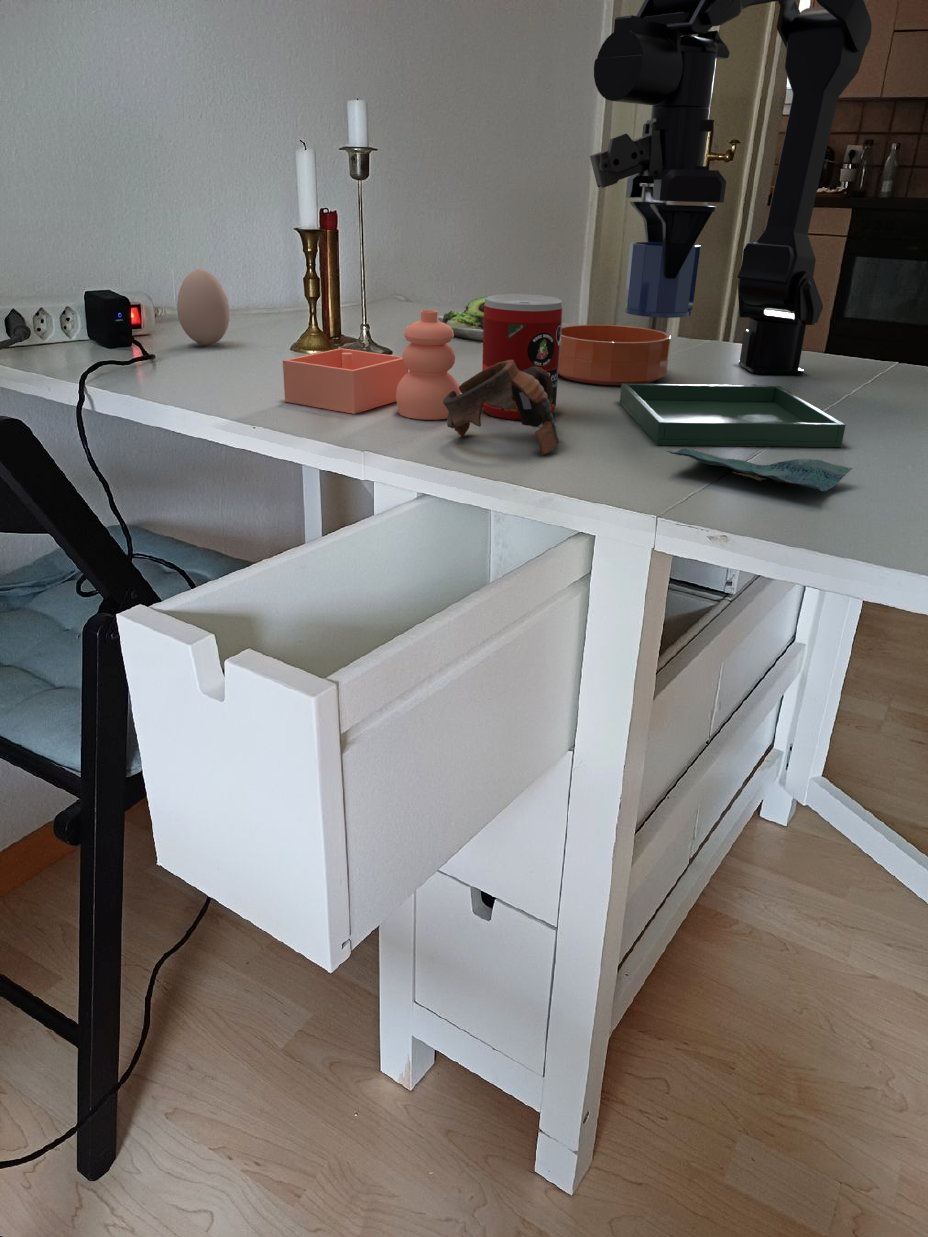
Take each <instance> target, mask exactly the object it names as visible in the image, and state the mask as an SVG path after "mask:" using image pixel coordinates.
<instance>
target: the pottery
mask: <svg viewBox="0 0 928 1237" xmlns="http://www.w3.org/2000/svg"><path fill="white" fill-rule="evenodd" d="M438 313H439V312H438V310H435V309H433V310H432V309H423V310H420V320H417V321H414V322H412V323H410V324H409V325H408V326H407V327H405V329H404V333H403V336H404V337H405V340H406V341H407V342H409V344H407V345H406V346H405V347H404V349H403V352H402V356H399V355H392V354H387V353H378V352H371V351H365V350H357V349H349V348H342V347H339V348H334V349H330V350H325V351H321V352H315V353H312V354H311V353H310V354H307V355H302V356H296V357H293V358H287V359H283V360H282V374H283V375H282V376H283V389H284V390H283V391H284V402H285V403H290V404H291V403H292V404H297V405H302V406H307V407H313V408H320V409H325V410H330V411H334V412H335V411H336V412H342V413H347V414H353V415H355V414H358V413H361V412H365V411H369V410H372V409H375V408H378V407H382V406H386V405H389V404H391V403H395V402H396V405H397V409H398V414H399V415H400V416H402V417H405V418H408V419H414V420H425V421H426V420H427V421H428V420H429V421H435V420H436V421H437V420H447V418H448V413H449V411H448V409H447V408H446V406H445V405H444V404H443V400H444V398H445V397H446V396H447V395H448V394H449V393H450V392H451V391H455V392H456V395H457V396H458V395H460V394H462V393H461V392H460V390H459V386H460V385H459V382H458V381H457V379H456V378H455V377H454V376H453V375H452V374H451V373H449V371H450V370H451V369H452V368H453V367H454V365H455V363H456V353H455V350H454V348H453V347H452V346H451V345H449V343H450V342H451V341H452V340H453V338H454V337H455V336H454V333H453V329H452V328H451V327H450V326H448V325H447V324H445V323H442V322H439V321H437V316H439V314H438Z"/></svg>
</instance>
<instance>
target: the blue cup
mask: <svg viewBox="0 0 928 1237" xmlns="http://www.w3.org/2000/svg"><path fill="white" fill-rule="evenodd" d="M700 253H701V245H699V244H697V243H695V244H694V245H693V247H692V249H691V251H690V253H689V254H688V256H687V258H686V260H685V262H684V264H683V266H682V267H681V269H680V271H679V273H678V275H677V277H676V278H674V279H669V278H665V273H664V251H663V242H646V241H632V242H630V243H629V251H628V261H627V272H626V282H625V283H626V284H625V294H624V295H625V296H624V302H623V307H624V313H625V314H628V315H632V316H638V317H646V318H647V317H648V318H659V319H661V318H662V319H664V318H665V319H675V318H676V319H677V318H687V317H690V316H691V315H692V311H693V308H694V302H695V301H694V300H695V292H696V286H697V285H696V284H697V278H698V269H699V262H700Z"/></svg>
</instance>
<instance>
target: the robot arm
mask: <svg viewBox="0 0 928 1237" xmlns="http://www.w3.org/2000/svg"><path fill="white" fill-rule="evenodd" d="M774 2H777V3H778V5H779V10H778V16H777V17H778V18H777V23H776V31H777V32H778V35H779V37H780V39H781V41H782V42H783V44H784V47H785V49H786V50H785V58H784V59H785V60H784V71H785V74H786V77H787V80H788V84H789V86H790V89H791V93H792V96H791V103H790V108H789V112H788V117H787V122H786V127H785V131H784V132H785V133H784V137H783V142H782V147H781V152H780V156H779V160H778V161H779V162H778V165H777V171H776V176H775V180H774V185H773V191H772V195H771V200H770V206H769V211H768V215H767V220H766V224H765V228H764V231H762V233H761V234H760V235H759V237H758V238H757V239H756V241H755V242H747V243H746V244H745V246H744V249H743V251H742V259H741V265H740V269H739V271H738V274H737V279H738V280H737V297H738V299H737V300H738V314H739V318H743V319H745V318H746V319H749V321H748V327H747V328H748V329H745V330H744V331H743V336H742V342H741V349H740V355H739V361H738V365H739V366H740V367H741V368H743V369H746V370H747V371H749V372H750V373H751V374H752V373H753V374H768V375H771V374H772V375H773V374H775V375H784V374H785V375H803V374H804V371H805V370H804V369H802V368H800V363H801V357H802V351H803V346H804V340H805V333H806V329H807V326H815V324H817V323H818V322H819V320H820V318H821V314H822V312H823V309H824V304H823V300H822V298H821V296H820V292H819V290H818V287H817V283H816V281H815V278H814V276H815V275H814V274H815V267H816V256H815V252H814V249H813V247H812V243H811V241H810V238H809V230H810V224H811V221H812V216H813V211H814V207H815V202H816V198H817V194H818V189H819V184H820V180H821V175H822V170H823V166H824V161H825V158H826V157H825V156H826V152H827V148H828V144H829V138H830V135H831V130H832V126H833V120H834V117H835V113H836V112H835V111H836V108H837V104H838V101H839V100H838V99H839V98H840V96H841V95H842V94H843V93H844V91H846V88H847V87H848V86H849V85H850V83H851V82H852V81H853V79H854V78H855V77H856V76H857V74H858V73H859V70H860V68H861V65H862V61H863V58H864V55H865V52H866V48H867V47H868V45H869V43H870V40H871V35H872V31H873V30H872V28H873V26H872V18H871V15H870V14H869V11H868V8H867V5H866V3H865V0H816V2H817V5H819V6H814V7H807V8H804V9H802V10H801V11H800V8H799V6H798V4H797V1H796V0H644V1H643V3H642V4H641V6H640V8H639V10H638V12H637V13H636V15H634V14H631V15H623V16H615V18H614V24H613V32H612V33H611V34H609V36H608V37H606V38H605V39H604V41H603V42H602V44H601V46H600V48H599V51H598V53H597V57H596V58H595V60H594V63H593V79H594V84H595V87H596V89H597V92H598V93H599V94H600V96H601V97H603V98H604V99H605V100H606V101H610V102H617V103H627V104H635V105H636V104H637V105H646V106H651V114H650V119H648V120H647V119H646V121H645V123H643V125H642V133H641V136H640V137H638V138H635V139H632V138H631V136H630V135H629V134H628V133H623V134H621V135H618V136H615V137H612V138H609V140H608V141H609V142H608V147H607V149H605V150H601V151H600V152H597V153H594V154H591V155H590V156H589V158H590V163H591V166H592V170H593V174H594V178H595V183H596V188H607V187H610V186H613V185H616V184H618V182H619V181H620V180H624V179H626V178H627V180H626V190H625V198H632V199H636V198H637V201H629V204H630V206H631V207H633V208H634V210H636V212H637V213H638V214H639V215H640V216H641V218H642V219H643V225H644V226H643V227H644V232H645V242H663V251H664V273H665V278H669V279H674V278H676V277H677V275H678V273H679V271H680V269H681V267H682V266H683V264H684V262H685V260H686V258H687V256H688V254H689V253H690V251H691V249H692V247H693V245H694V244H696V242H697V240H698V239H699V236H700V235H701V233H702V231H703V229H704V228H705V227H706V224H707V222H708V221H709V219H710V217H711V215H712V214H713V213H715V211H716V209H717V206H714V205H709V203H718V204H719V203H720V204H721V203H723V204H724V203H725V201H724V200H725V195H726V187H727V180H726V178H725V177H724V176H723V175H722V173H721V172H720V171H719V170H716V169H709V166H708V165H707V166H706V165H704V163H705V162H704V161H705V155H706V154H705V153H706V145H707V138H708V133H712V132H713V131H714V123H715V119H710V112H711V105H712V96H713V89H714V81H715V72H716V65H717V64H716V63H717V60H725V59H728V58H729V57H730V50H729V48H728V45H727V44H726V43H725V42H724V41H723V40H722V38H721V37H720V32H719V30H718V29H715V30H711V29H712V28H713V27H719V26H722V25H724V24H726V23H727V22H730V21H731V20H733V19H736V18H737V17H739V16H740V15H741V13H742V12H743V10H744V9H746V8H748V7H751V6H752V7H753V6H758V5H762V4H767V3H774ZM791 312H793V313H791Z"/></svg>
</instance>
